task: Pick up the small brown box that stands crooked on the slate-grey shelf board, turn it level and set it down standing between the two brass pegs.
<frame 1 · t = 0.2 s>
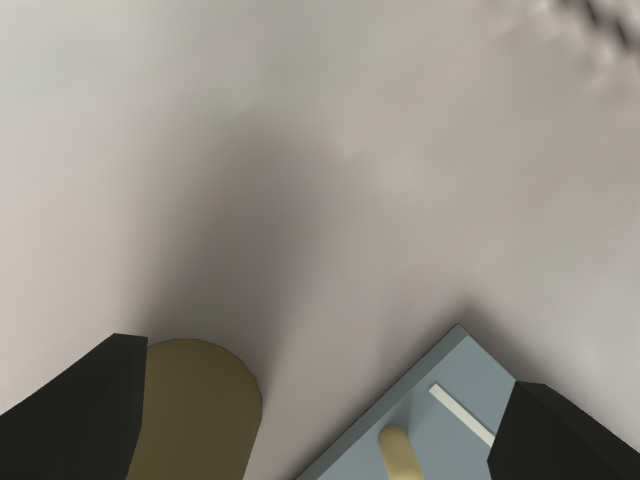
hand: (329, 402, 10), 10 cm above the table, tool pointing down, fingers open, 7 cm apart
cork: (187, 406, 22), on the table
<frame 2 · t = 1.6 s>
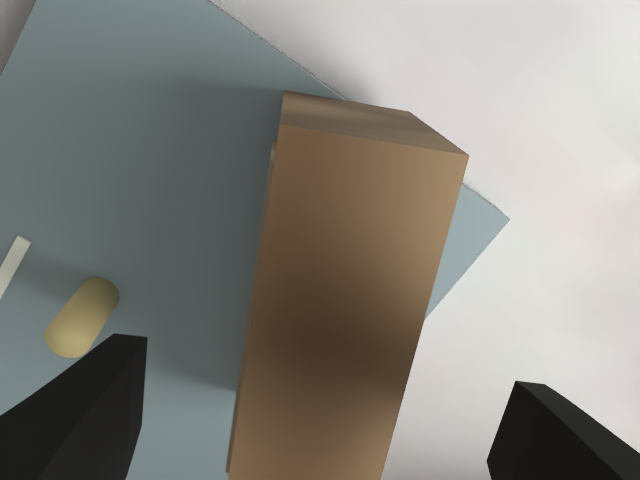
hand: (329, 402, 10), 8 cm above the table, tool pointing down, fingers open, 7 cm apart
brown box: (316, 265, 17), point 1 cm above the table, touching shelf board
shelf board: (130, 360, 19), on the table
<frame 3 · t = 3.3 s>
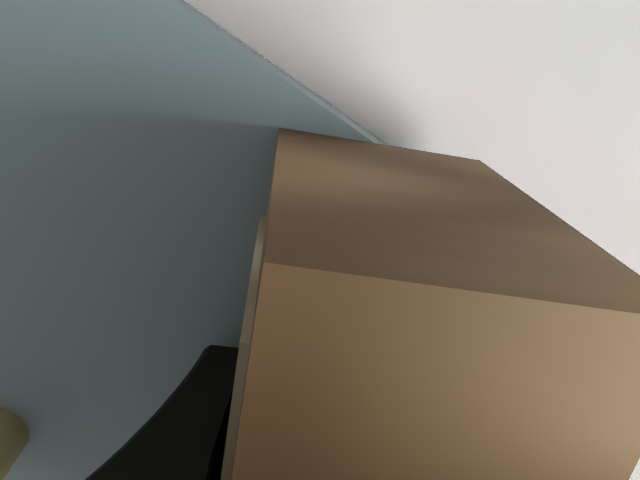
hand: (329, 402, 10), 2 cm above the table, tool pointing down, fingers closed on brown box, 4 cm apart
brown box: (329, 386, 11), point 1 cm above the table, touching gripper, shelf board
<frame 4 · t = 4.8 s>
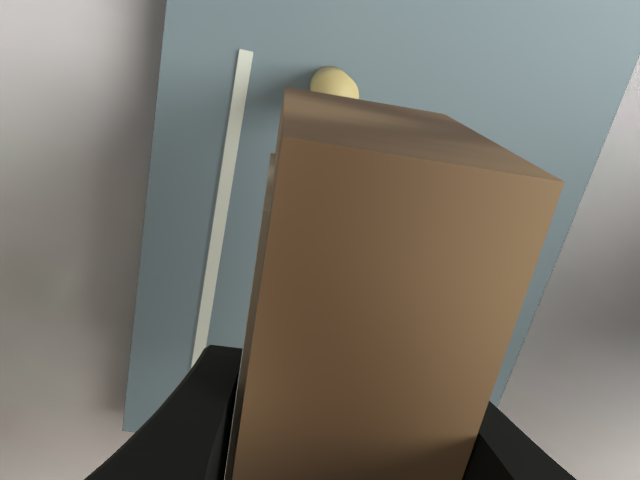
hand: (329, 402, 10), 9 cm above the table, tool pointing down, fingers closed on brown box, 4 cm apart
brown box: (325, 305, 13), point 6 cm above the table, touching gripper
shelf board: (368, 169, 19), on the table
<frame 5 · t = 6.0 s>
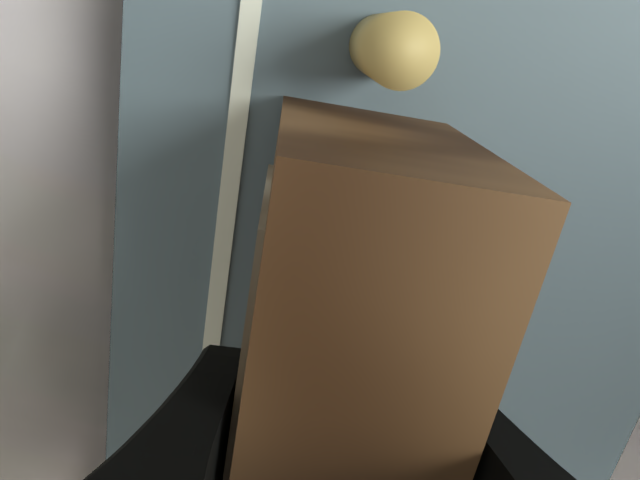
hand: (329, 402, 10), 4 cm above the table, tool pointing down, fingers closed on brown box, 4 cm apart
brown box: (324, 317, 13), point 1 cm above the table, touching gripper, shelf board
shelf board: (430, 167, 13), on the table
when the fingers open (4 cm above the table, at t = 6.8 s): brown box stays where it is, resting on shelf board.
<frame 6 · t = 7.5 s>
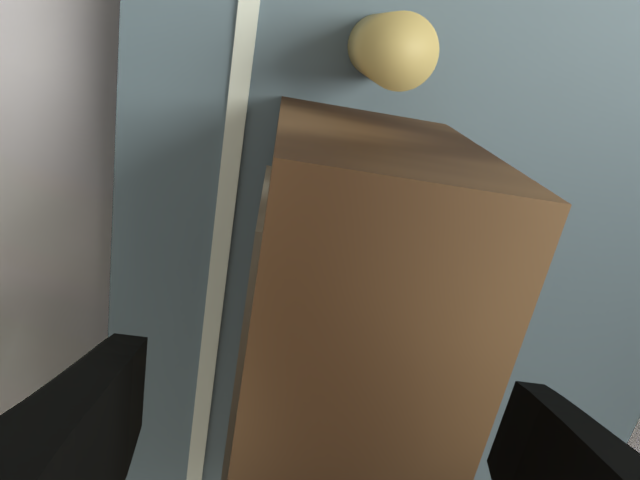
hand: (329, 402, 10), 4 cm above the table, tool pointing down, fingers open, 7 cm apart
brown box: (323, 319, 13), point 1 cm above the table, touching shelf board
shelf board: (429, 168, 13), on the table
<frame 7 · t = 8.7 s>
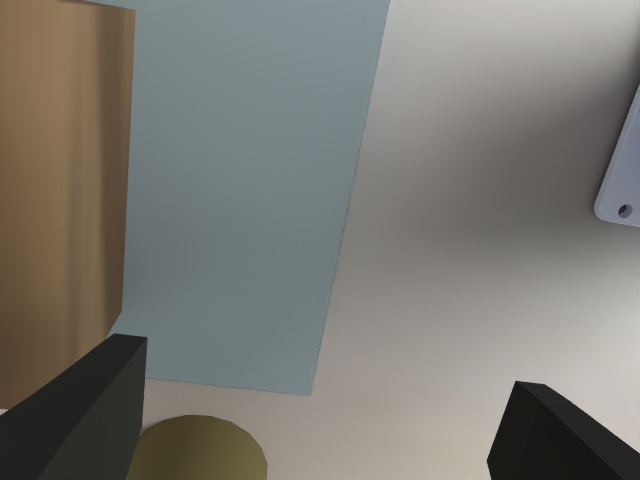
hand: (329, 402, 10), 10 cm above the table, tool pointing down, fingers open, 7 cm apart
cork: (198, 467, 24), on the table
brown box: (71, 167, 17), point 1 cm above the table, touching shelf board
shelf board: (151, 53, 17), on the table
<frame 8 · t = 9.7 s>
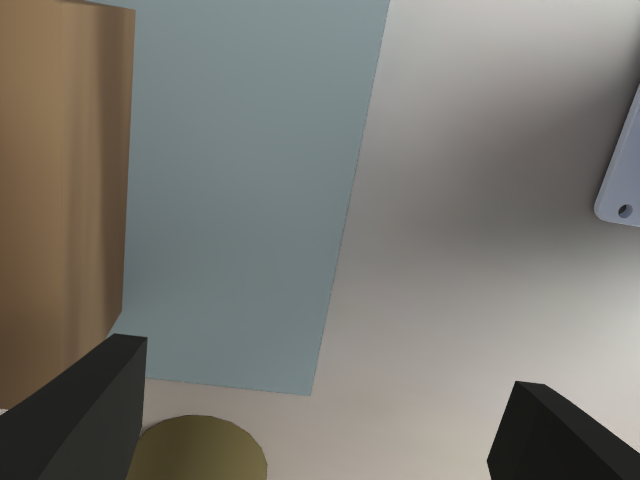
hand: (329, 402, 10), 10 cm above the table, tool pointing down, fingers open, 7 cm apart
cork: (198, 467, 24), on the table
brown box: (71, 167, 17), point 1 cm above the table, touching shelf board
shelf board: (151, 53, 17), on the table
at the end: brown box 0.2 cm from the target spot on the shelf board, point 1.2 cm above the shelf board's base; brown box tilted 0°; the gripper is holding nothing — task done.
